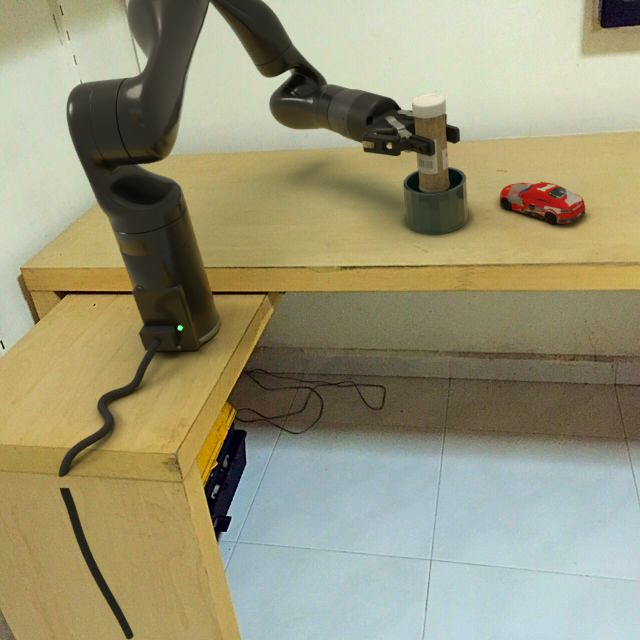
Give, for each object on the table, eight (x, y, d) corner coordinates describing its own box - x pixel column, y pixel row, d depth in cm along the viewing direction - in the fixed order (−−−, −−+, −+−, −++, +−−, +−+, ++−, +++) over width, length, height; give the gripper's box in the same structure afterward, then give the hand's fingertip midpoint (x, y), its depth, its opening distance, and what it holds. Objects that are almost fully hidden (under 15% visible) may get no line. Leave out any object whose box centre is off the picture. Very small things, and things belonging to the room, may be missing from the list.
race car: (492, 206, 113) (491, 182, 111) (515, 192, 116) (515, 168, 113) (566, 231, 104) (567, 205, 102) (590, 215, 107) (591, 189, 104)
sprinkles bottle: (456, 186, 109) (452, 97, 101) (432, 198, 107) (426, 107, 99) (435, 177, 112) (430, 90, 104) (412, 188, 110) (404, 100, 103)
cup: (467, 232, 108) (465, 192, 104) (405, 236, 110) (401, 196, 106) (467, 203, 115) (466, 164, 111) (409, 206, 117) (405, 168, 113)
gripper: (324, 109, 109) (406, 135, 98) (395, 78, 116) (480, 98, 104) (331, 157, 114) (411, 187, 102) (399, 124, 120) (481, 148, 108)
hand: (445, 142), depth 103 cm, fingers closed on sprinkles bottle, 4 cm apart
